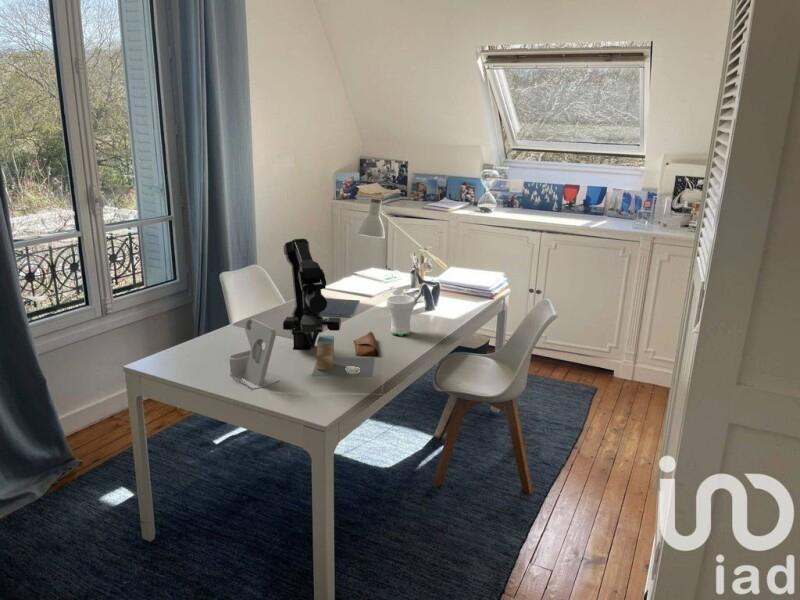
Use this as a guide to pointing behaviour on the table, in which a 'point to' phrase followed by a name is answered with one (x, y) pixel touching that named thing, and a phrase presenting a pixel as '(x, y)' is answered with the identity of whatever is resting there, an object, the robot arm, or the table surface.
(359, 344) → the sunglasses case
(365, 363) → the rubber mat
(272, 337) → the phone holder
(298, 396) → the table surface
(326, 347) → the oak block
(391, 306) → the cup
